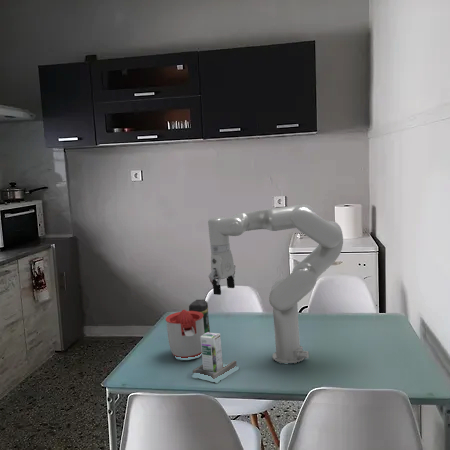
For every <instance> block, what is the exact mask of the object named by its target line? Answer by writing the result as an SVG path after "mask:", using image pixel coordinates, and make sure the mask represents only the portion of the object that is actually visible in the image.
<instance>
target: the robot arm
mask: <svg viewBox="0 0 450 450" xmlns="http://www.w3.org/2000/svg"><path fill="white" fill-rule="evenodd" d="M207 225H208V234H209V235H208V236H209V246H210V253H211V254H210V269H211V270H210V271H211V272H210V273H209V275H208V278H209V282H210V283H211V285H212V290H213V295H217V296H220V295H222V290H221V289H222V288H221V284H220V282H221V280H223V279H226V287H227V288H228V289H234V288H236V287H235V274H236V265H235V264H234V263H235V262H234V257H233V254H232V250H231V249H230V248H231V247H230V237H240V236H242V235H243V234H244V233H245V232H249V231H258V230H267V231H270V232H271V231H272V232H277V231H284V230H290V229H296V230H298V231H300V233H303V234H304V236H306V237H308V238H309V239H311V240H313V242H316V243H317V244H318V245H317V246H316V248H315V249H313V251H312V252H311V253H309V254H308V255H307V256H306V257H305V258H304V259H303V260H301V261H300V262H299V263H297V264H296V265H295V266H294V267H293V269H292V271H291V273H290V274H288V276H286V277H285V278H280V279H278V280H276V281H274V283H273V285H272V287H271V290H270V292H269V296H268V302H269V304H270V306H271V307H272V312H273V313H272V314H273V315H272V316H273V327H274V328H273V330H274V340H275V341H274V345H275V352H273V353H272V357H271V359H272V361H274V360H275V361H277V362H280V363H279V364H281V363H294V364H297V362H298V363H300V361H301V362H303V360H305V359H309V357H310V355H309V353H310V351H308V350H304V348H303V347H304V346H301V344H300V343H301V342H300V328H299V326H300V325H299V311H298V303H299V302H300V301H301V300H302V299H303V298H305V296H307V295H308V294H309V293H310V292H311V291H312V290H314V288H315V286H316V285H317V281H318V279H319V277H320V276H321V275H322V274H323V273H325V272H326V271H327V269H329V268H330V267H331V266H332V265H333V264H334V263H335V262H336V260H338V258H339V256H340V255H341V252H342V250H343V246H344V235H343V230H342V228H341V225H339V223H338V222H336V221H333V220H326V219H324V217H321V216H320V215H318V214H317V213H316V212H315V209H314V208H313V207H312V206H311V205H309V204H304V203H303V204H297V205H289V206H283V207H277V208H276V207H275V208H270V209H269V208H268V209H264V210H263V209H262V210H254V211H247V212H241V213H236V214H235V215H233V216H231V217H228V218H227V217H225V216H224V217H223V216H216V217H211V218H209V219H208V220H207ZM275 361H274V362H275ZM277 362H276V363H277Z"/></svg>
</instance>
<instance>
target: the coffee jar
mask: <svg viewBox="0 0 450 450" xmlns="http://www.w3.org/2000/svg"><path fill="white" fill-rule="evenodd" d="M188 311H197V312H201V313H202V314H203V315H204V316H203V322H204V333H207V332H209V333H211V329H210V328H211V327H210V318H209V303H208V301H207V300H206V299H195V300H194V301H192V302H191V303H190V304H189V305H188Z"/></svg>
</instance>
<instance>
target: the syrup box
mask: <svg viewBox="0 0 450 450" xmlns="http://www.w3.org/2000/svg"><path fill="white" fill-rule="evenodd" d="M200 339H201V350H202V355H201V358H202V361H201V362H202V365H203V370H207V371H211V372H217V371H219V370H220V369H222V368H223V363H224V362H223V354H222V353H223V352H222V351H223V350H222V339H221V333H218V332H210V333H209V332H207V333H205V334H203V335H202V336H201V337H200Z"/></svg>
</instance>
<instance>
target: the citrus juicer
mask: <svg viewBox="0 0 450 450" xmlns="http://www.w3.org/2000/svg"><path fill="white" fill-rule="evenodd" d="M203 316H204V315H203V314H202V313H201V312H197V311H189V310H187V309H182V310H181V311H178V312H174V313H172V314H168V316H166V317H165V321H166V329H167V338H168V339H167V340H168V346H169V348H170V351H171V354H172V356H173V355H174V356H176V357H181V358H188V357H195V356H198V355H200V354H201V353H202V350H201V339H200V337H201V336H202V335H203V334H205V333H204V322H203ZM174 356H173V357H174Z"/></svg>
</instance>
